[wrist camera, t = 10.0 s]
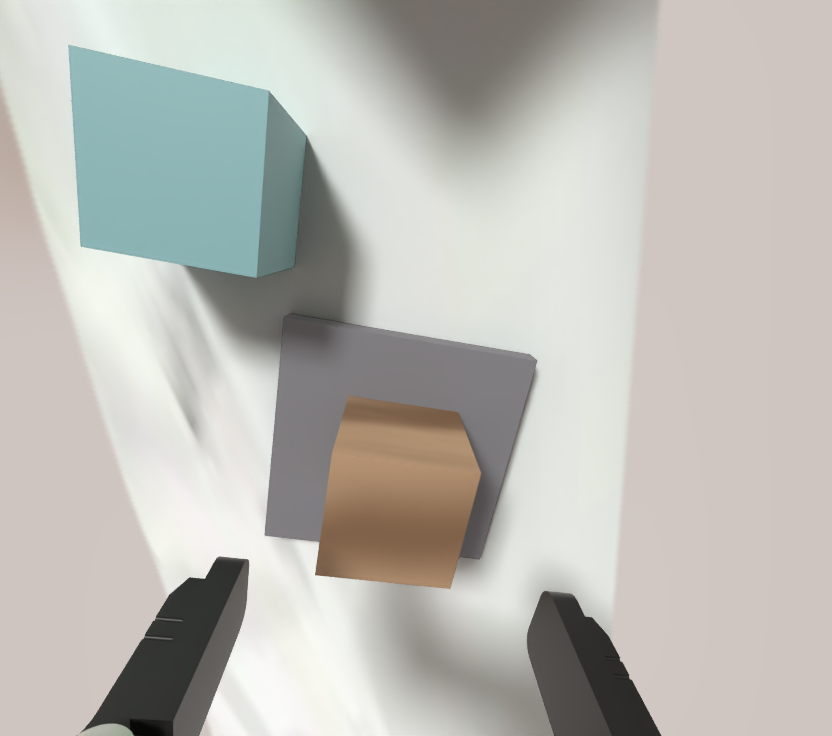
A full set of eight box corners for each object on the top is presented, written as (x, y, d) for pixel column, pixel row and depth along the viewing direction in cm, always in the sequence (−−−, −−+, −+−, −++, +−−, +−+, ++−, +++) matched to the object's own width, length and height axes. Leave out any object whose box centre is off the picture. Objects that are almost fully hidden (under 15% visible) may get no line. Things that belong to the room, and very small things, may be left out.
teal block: (171, 106, 15) (68, 44, 10) (307, 136, 15) (268, 90, 11) (171, 244, 16) (81, 246, 12) (294, 267, 17) (256, 277, 12)
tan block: (348, 395, 18) (331, 453, 13) (458, 412, 18) (481, 473, 13) (334, 491, 19) (315, 575, 14) (436, 504, 20) (450, 588, 15)
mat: (290, 313, 17) (283, 317, 16) (529, 354, 19) (537, 360, 18) (270, 521, 21) (264, 535, 20) (476, 545, 22) (479, 559, 21)
